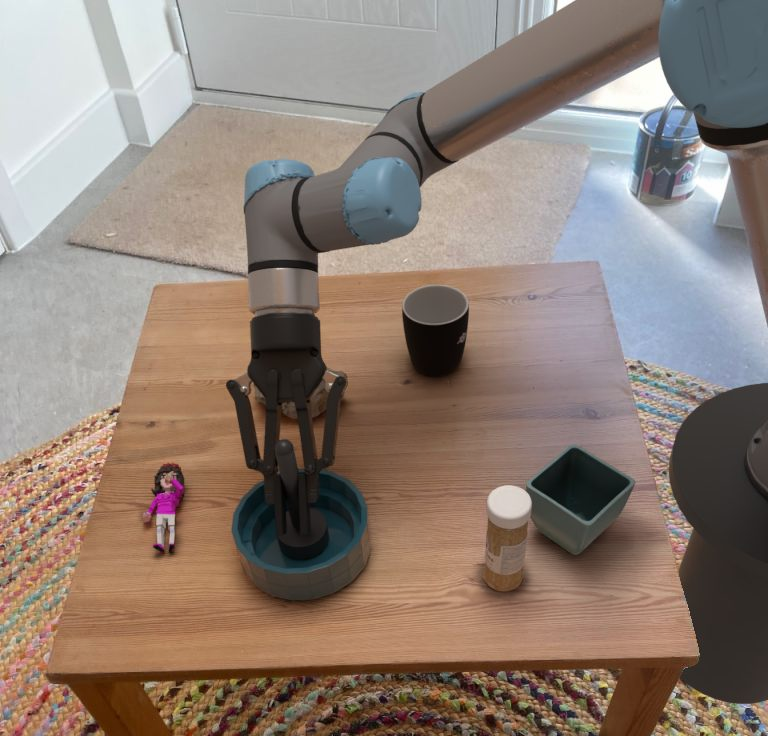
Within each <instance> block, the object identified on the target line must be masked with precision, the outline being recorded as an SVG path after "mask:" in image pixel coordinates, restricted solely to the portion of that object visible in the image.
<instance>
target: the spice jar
mask: <svg viewBox="0 0 768 736" xmlns="http://www.w3.org/2000/svg"><path fill="white" fill-rule="evenodd" d="M531 509H532V501H531V498H530V496H529V494H528V493H527V492H526V489H524V488H522V487H519V486H517V485H510V484H507V485H501V486H498V487H496V488H494V489H493V490H492V491H490V493H489V495H488V496H487V501H486V516H487V527H486V534H485V535H486V536H485V549H484V568H483V571H482V577H483V580H484V582H485V584H486V585H487V586H488V587H489V588H492V589H493V590H495V591H497V592H509V591H510V592H511V591H513V590H515V589H517V588H518V587H519V586H520V585H521V584H522V581H523V579H524V573H523V572H524V571H523V570H524V569H523V568H524V564H525V558H526V550H527V542H528V535H529V534H528V528H529V520H530V519H531V518H530V516H531Z"/></svg>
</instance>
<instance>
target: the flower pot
mask: <svg viewBox="0 0 768 736" xmlns="http://www.w3.org/2000/svg"><path fill="white" fill-rule="evenodd" d="M635 485H636V479H634V478H633V477H632V476H630V475H628V474H626V473H625V472H623V471H621V470H619V469H617V468H616V467H614V466H613V465H611V464H610V463H608V462H606V461H604V459H601V458H600V457H598V456H597V455H595V454H594V453H591V452H590V451H588V450H587V449H586V448H584V447H582V446H581V445H579V444H575V443H572V444H570V445H568V446H567V447H566V448H565V449H563V450H562V451H561V452H560V453H559V454H557V456H556V457H555V458H554V459H552V460H551V461H550V462H549V463H548V464H546V465H545V466H544V467H543V468H542V469H540V470H539V471H537V473H536V474H535V475H533V476H531V478H530V479H528V480H527V481H526V482H525V491H526V492H527V493H528V494H529V496H530V498H531V501H532V509H531V516H530V518H529V519H530V520H531V522H532V523H533V525H534V526H535V528H537V530H538V531H539V532H540V533H541V534H542V535H544V536H545V537H546V538H548V539H549V540H551V541H552V542H554V543H555V544H557V545H558V546H560V547H561V548H562V549H564V550H565V551H567V552H568V553H570V554H571V555H574V556H575V555H579V554H581V553H582V552H583V551H585V549H586V548H588V546H590V545H591V544H592V543H593V542H594V541H595V540H596V539H597V538H598V537H599V536H600V535H601V534H602V533H604V531H606V530H607V529H609V527H610V526H611V525H612V524H613V523H614V522H615V521H616V520H617V519H618V518H619V516H620V515H621V514H622V513H623V511H624V510H625V509H624V508H625V506H626V505H627V503H628V501H629V499H630V497H631V495H632V491H633V490H634V488H635Z"/></svg>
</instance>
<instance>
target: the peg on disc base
mask: <svg viewBox="0 0 768 736" xmlns="http://www.w3.org/2000/svg"><path fill="white" fill-rule="evenodd" d="M274 449H275V454H276V459H277V463H278V469H279V471H278V472H280V476H281V480H282V484H283V489H284V493H285V497H286V502H287V506H288V510H289V511H287V512H286V522H287V533H285V534H284V535H277V539H278V543H279V546H280V549H281V550H282V552H283V553H284V554H286V555H287V556H289V557H291V558H294V559H308V558H312V557H314V556H316V555H318V554H320V553H321V552H322V551H323V550H324V549H325V548H326V546H327V544H328V541H329V532H328V527H327V522H326V519H325V517H324V515H323V514H322V513H321V512H319V511H318V510H316V509H314V508H310V522H311V532H310V533H309V534H308V535H300V512H299V486H298V475H299V471H298V468H299V466H298V461H297V456H296V452H295V448H294V444H293V442H292V441H290V440H289V439H287V438H280V440H279V441H278V442H277V443H276V444H275V448H274Z"/></svg>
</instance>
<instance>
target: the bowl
mask: <svg viewBox="0 0 768 736" xmlns="http://www.w3.org/2000/svg"><path fill="white" fill-rule="evenodd" d="M304 469H305V468H304V467H298V471H299V474H305V472H304ZM278 474H280V471H278V472H277V475H278ZM318 480H319V499H318V502H317V503H310V508H314V509H316V510H318V511H319V512H321V513H322V514H323V515H324V517H325V519H326V522H327V527H328V532H329V541H328V544H327V546H326V548H325V549H324V550H323V551H322V552H321V553H320V554H318V555H316V556H314V557H312V558H308V559H294V558H291V557H289V556H287V555H286V554H284V553H283V552H282V550H281V549H280V546H279V543H278V539H277V535H276V529H275V504H267V503H266V501H265V490H264V479H262V480H260V481H259V482H257V483H256V484H254V485H253V486H252V487H251V488H250V489H249V490H248V491H247V492H245V494H244V495H243V496H242V497H241V499H240V500H239V503H238V504H237V506H236V507H235V510H234V511H233V514H232V523H231V534H232V537H233V540H234V545H235V547H236V551H237V553H238V557H239V560H240V563H241V566H242V570H243V572H244V574H245V575H246V577H248V579H249V580H250V581H251V582H252V584H253V585H254V586H255V587H256V588H258V589H260V590H261V591H263V592H265V593H266V594H268V595H270V596H271V597H275V598H280V599H284V600H289V601H306V600H307V601H308V600H309V601H312V600H316V599H319V598H323V597H325V596H328V595H332V594H334V593H336V592H338V591H340V590H342V589H343V588H344V587H346V586H347V585H349V584H351V583H352V582H353V581H354V579H356V577H357V576H358V575H359V574H360V573H361V572H362V570H363V569H364V568H365V566H366V564H367V561H368V559H369V556H370V554H371V550H372V534H371V533H372V532H371V524H370V517H369V508H368V504H367V503H366V500H365V498H364V496H363V493H362V491H361V490H360V489H359V488H358V487H357V486H356V485H355V484H354V483H353V482H352V481H351V480H350V479H349V478H347V477H345V476H343V475H341V474H339V473H337V472H335V471H333V470H328V469H323V470H321V471H320V472H319V475H318ZM287 511H289V510H288V506H287V502H286V512H287Z"/></svg>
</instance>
